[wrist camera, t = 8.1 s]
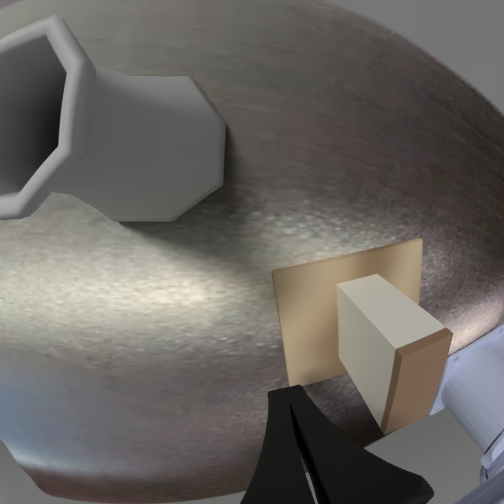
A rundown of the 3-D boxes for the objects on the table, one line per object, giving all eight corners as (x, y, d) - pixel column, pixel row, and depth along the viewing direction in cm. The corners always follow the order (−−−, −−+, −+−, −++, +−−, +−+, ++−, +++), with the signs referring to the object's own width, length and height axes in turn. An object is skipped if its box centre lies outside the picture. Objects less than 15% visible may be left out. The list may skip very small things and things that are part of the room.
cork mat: (418, 238, 15) (422, 239, 14) (409, 346, 17) (412, 349, 17) (271, 270, 14) (273, 273, 14) (288, 384, 16) (290, 389, 16)
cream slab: (377, 273, 14) (453, 333, 8) (374, 345, 16) (427, 414, 10) (336, 284, 14) (402, 356, 8) (338, 357, 16) (384, 435, 10)
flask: (108, 243, 13) (-26, 363, 3) (71, 111, 11) (-84, 77, 1) (247, 198, 13) (319, 281, 3) (206, 57, 11) (191, -105, 1)
